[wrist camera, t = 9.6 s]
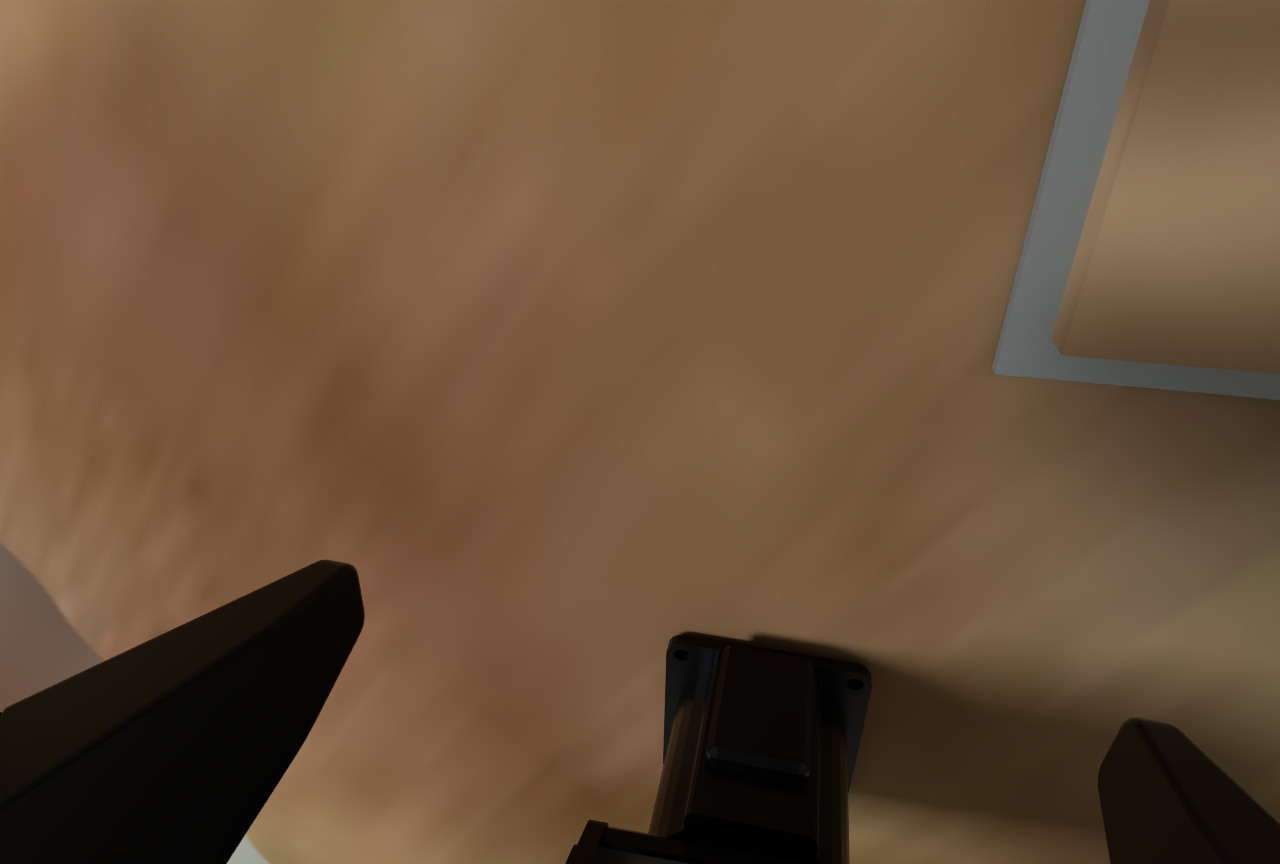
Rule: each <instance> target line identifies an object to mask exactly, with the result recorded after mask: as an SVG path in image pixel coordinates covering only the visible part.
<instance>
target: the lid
mask: <svg viewBox="0 0 1280 864" xmlns="http://www.w3.org/2000/svg"><path fill="white" fill-rule="evenodd" d="M1051 340H1052V341H1053V343H1054V344H1055V346H1056V347H1057V349H1058V350H1059V352H1060V353H1061V355H1063V356H1075V357H1087V358H1098V359H1110V360H1122V361H1134V362H1145V363H1157V364H1169V365H1181V366H1192V367H1204V368H1216V369H1228V370H1239V371H1251V372H1263V373H1275V374H1280V0H1150V1H1149V5H1148V8H1147V11H1146V15H1145V18H1144V22H1143V25H1142V29H1141V32H1140V35H1139V39H1138V42H1137V46H1136V49H1135V52H1134V56H1133V59H1132V63H1131V66H1130V70H1129V73H1128V76H1127V80H1126V83H1125V87H1124V90H1123V93H1122V97H1121V100H1120V104H1119V107H1118V111H1117V114H1116V117H1115V121H1114V124H1113V128H1112V131H1111V134H1110V138H1109V141H1108V145H1107V148H1106V151H1105V155H1104V158H1103V162H1102V165H1101V169H1100V172H1099V175H1098V179H1097V182H1096V186H1095V189H1094V192H1093V196H1092V199H1091V203H1090V206H1089V210H1088V213H1087V216H1086V220H1085V223H1084V227H1083V230H1082V233H1081V237H1080V240H1079V244H1078V247H1077V251H1076V254H1075V257H1074V261H1073V264H1072V268H1071V271H1070V274H1069V278H1068V281H1067V285H1066V288H1065V291H1064V295H1063V298H1062V302H1061V305H1060V309H1059V312H1058V315H1057V319H1056V322H1055V326H1054V329H1053V332H1052V336H1051Z"/></svg>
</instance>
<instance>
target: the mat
mask: <svg viewBox="0 0 1280 864" xmlns="http://www.w3.org/2000/svg"><path fill="white" fill-rule="evenodd" d="M1149 1H1150V0H1086V3H1085V7H1084V11H1083V15H1082V19H1081V23H1080V27H1079V31H1078V35H1077V38H1076V42H1075V46H1074V50H1073V54H1072V58H1071V62H1070V66H1069V70H1068V74H1067V77H1066V81H1065V85H1064V89H1063V93H1062V97H1061V101H1060V105H1059V109H1058V112H1057V116H1056V120H1055V124H1054V128H1053V132H1052V136H1051V140H1050V144H1049V147H1048V151H1047V155H1046V159H1045V163H1044V167H1043V171H1042V175H1041V179H1040V183H1039V186H1038V190H1037V194H1036V198H1035V202H1034V206H1033V210H1032V214H1031V218H1030V221H1029V225H1028V229H1027V233H1026V237H1025V241H1024V245H1023V249H1022V253H1021V257H1020V260H1019V264H1018V268H1017V272H1016V276H1015V280H1014V284H1013V288H1012V292H1011V295H1010V299H1009V303H1008V307H1007V311H1006V315H1005V319H1004V323H1003V327H1002V330H1001V334H1000V338H999V342H998V346H997V350H996V354H995V358H994V362H993V366H992V369H993V371H994V373H995V374H998V375H1009V376H1020V377H1031V378H1042V379H1053V380H1064V381H1075V382H1086V383H1097V384H1108V385H1119V386H1130V387H1141V388H1152V389H1163V390H1174V391H1185V392H1196V393H1207V394H1218V395H1229V396H1240V397H1251V398H1262V399H1273V400H1280V374H1275V373H1263V372H1251V371H1239V370H1228V369H1216V368H1204V367H1192V366H1181V365H1169V364H1157V363H1145V362H1134V361H1122V360H1110V359H1098V358H1087V357H1075V356H1063V355H1061V353H1060V352H1059V350H1058V349H1057V347H1056V346H1055V344H1054V343H1053V341H1052V340H1051V336H1052V332H1053V329H1054V326H1055V322H1056V319H1057V315H1058V312H1059V309H1060V305H1061V302H1062V298H1063V295H1064V291H1065V288H1066V285H1067V281H1068V278H1069V274H1070V271H1071V268H1072V264H1073V261H1074V257H1075V254H1076V251H1077V247H1078V244H1079V240H1080V237H1081V233H1082V230H1083V227H1084V223H1085V220H1086V216H1087V213H1088V210H1089V206H1090V203H1091V199H1092V196H1093V192H1094V189H1095V186H1096V182H1097V179H1098V175H1099V172H1100V169H1101V165H1102V162H1103V158H1104V155H1105V151H1106V148H1107V145H1108V141H1109V138H1110V134H1111V131H1112V128H1113V124H1114V121H1115V117H1116V114H1117V111H1118V107H1119V104H1120V100H1121V97H1122V93H1123V90H1124V87H1125V83H1126V80H1127V76H1128V73H1129V70H1130V66H1131V63H1132V59H1133V56H1134V52H1135V49H1136V46H1137V42H1138V39H1139V35H1140V32H1141V29H1142V25H1143V22H1144V18H1145V15H1146V11H1147V8H1148V5H1149Z"/></svg>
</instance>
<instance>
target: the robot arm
mask: <svg viewBox="0 0 1280 864" xmlns="http://www.w3.org/2000/svg"><path fill="white" fill-rule="evenodd" d="M364 616H365V614H364V606H363V601H362V595H361V589H360V583H359V578H358V573H357V570H356V569H355V567H354V566H352V565H350V564H347V563H342V562H337V561H332V560H320V561H318V562H315V563H313V564H311V565H309V566H307V567H305V568H302V569H300V570H298V571H296V572H294V573H292V574H290V575H288V576H285V577H283V578H281V579H279V580H277V581H275V582H273V583H270V584H268V585H266V586H264V587H262V588H260V589H258V590H256V591H253V592H251V593H249V594H247V595H245V596H243V597H241V598H238V599H236V600H234V601H232V602H230V603H228V604H226V605H224V606H221V607H219V608H217V609H215V610H213V611H211V612H209V613H206V614H204V615H202V616H200V617H198V618H196V619H194V620H192V621H189V622H187V623H185V624H183V625H181V626H179V627H177V628H174V629H172V630H170V631H168V632H166V633H164V634H162V635H160V636H157V637H155V638H153V639H151V640H149V641H147V642H145V643H142V644H140V645H138V646H136V647H134V648H132V649H130V650H128V651H125V652H123V653H121V654H119V655H117V656H115V657H113V658H110V659H108V660H106V661H104V662H102V663H100V664H98V665H96V666H93V667H91V668H89V669H87V670H85V671H83V672H81V673H78V674H76V675H74V676H72V677H70V678H68V679H66V680H63V681H61V682H59V683H57V684H55V685H53V686H51V687H48V688H46V689H44V690H42V691H40V692H38V693H36V694H33V695H31V696H29V697H27V698H25V699H23V700H21V701H19V702H16V703H14V704H12V705H10V706H8V707H7V708H5V709H4V711H3V712H2V713H1V712H0V864H227V862H228V860H229V859H230V857H231V856H232V854H233V853H234V851H235V850H236V848H237V846H238V845H239V843H240V842H241V840H242V839H243V837H244V836H245V834H246V832H247V831H248V829H249V828H250V826H251V825H252V823H253V822H254V820H255V818H256V817H257V815H258V814H259V812H260V811H261V809H262V808H263V806H264V804H265V803H266V801H267V800H268V798H269V797H270V795H271V794H272V792H273V790H274V789H275V787H276V786H277V784H278V783H279V781H280V780H281V778H282V776H283V775H284V773H285V772H286V770H287V769H288V767H289V766H290V764H291V762H292V761H293V759H294V758H295V756H296V755H297V753H298V751H299V750H300V748H301V746H302V745H303V743H304V741H305V740H306V738H307V736H308V734H309V733H310V731H311V729H312V727H313V725H314V723H315V722H316V720H317V718H318V716H319V714H320V712H321V710H322V708H323V706H324V704H325V702H326V700H327V698H328V696H329V694H330V692H331V690H332V688H333V686H334V684H335V682H336V680H337V678H338V676H339V674H340V672H341V670H342V669H343V667H344V665H345V663H346V661H347V659H348V657H349V655H350V653H351V651H352V649H353V647H354V645H355V643H356V641H357V639H358V637H359V635H360V633H361V631H362V628H363V624H364ZM678 649H682V650H685V651H687V652H682V651H679V650H678ZM850 679H859V680H858V681H853V680H850ZM871 688H872V686H871V673H870V671H869V670H868V669H867V668H866V667H865V666H863V665H860V664H857V663H851V662H844V661H838V660H832V659H826V658H820V657H814V656H808V655H802V654H796V653H790V652H784V651H778V650H772V649H766V648H759V647H753V646H747V645H741V644H735V643H729V642H723V641H717V640H711V639H705V638H699V637H693V636H687V635H677V636H674V637H672V638H671V639H670V641H669V645H668V649H667V653H666V685H665V717H664V750H663V764H664V767H663V771H662V775H661V780H660V784H659V789H658V793H657V798H656V802H655V807H654V811H653V816H652V820H651V824H650V829H649V833H648V834H647V833H642V832H636V831H631V830H625V829H619V828H614V827H608V823H606V822H600V821H594V820H589V821H588V822H587V825H586V827H585V829H584V831H583V833H582V836H581V838H580V840H579V842H578V844H577V845H576V844H575V845H574V846H573V848H572V850H571V852H570V855H569V857H568V859H567V861H566V863H565V864H849V817H848V792H849V787H850V783H851V778H852V774H853V769H854V765H855V760H856V756H857V751H858V747H859V742H860V738H861V733H862V729H863V724H864V719H865V715H866V710H867V706H868V701H869V697H870V692H871ZM1098 789H1099V796H1100V802H1101V808H1102V814H1103V820H1104V826H1105V832H1106V839H1107V845H1108V851H1109V857H1110V863H1111V864H1280V823H1278V822H1277V821H1276V820H1275V819H1274V818H1273V817H1272V816H1271V815H1270V814H1269V813H1268V812H1267V811H1266V810H1265V809H1263V808H1262V807H1261V806H1260V805H1259V804H1258V803H1257V802H1256V801H1255V800H1254V799H1253V798H1252V797H1251V796H1250V795H1248V794H1247V793H1246V792H1245V791H1244V790H1243V789H1242V788H1241V787H1240V786H1239V785H1238V784H1237V783H1236V782H1235V781H1233V780H1232V779H1231V778H1230V777H1229V776H1228V775H1227V774H1226V773H1225V772H1224V771H1223V770H1222V769H1221V768H1220V767H1219V766H1217V765H1216V764H1215V763H1214V762H1213V761H1212V760H1211V759H1210V758H1209V757H1208V756H1207V755H1206V754H1205V753H1204V752H1202V751H1201V750H1200V749H1199V748H1198V747H1197V746H1196V745H1195V744H1194V743H1193V742H1192V741H1191V740H1190V739H1189V738H1187V737H1186V736H1185V735H1184V734H1183V733H1182V732H1181V731H1180V730H1178V729H1177V728H1176V727H1174V726H1172V725H1169V724H1166V723H1161V722H1156V721H1151V720H1146V719H1141V718H1130V719H1128V720H1126V721H1125V722H1124V723H1123V725H1122V726H1121V728H1120V730H1119V732H1118V734H1117V736H1116V737H1115V739H1114V741H1113V743H1112V745H1111V747H1110V749H1109V751H1108V753H1107V754H1106V756H1105V758H1104V760H1103V762H1102V764H1101V767H1100V770H1099V775H1098Z"/></svg>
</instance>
